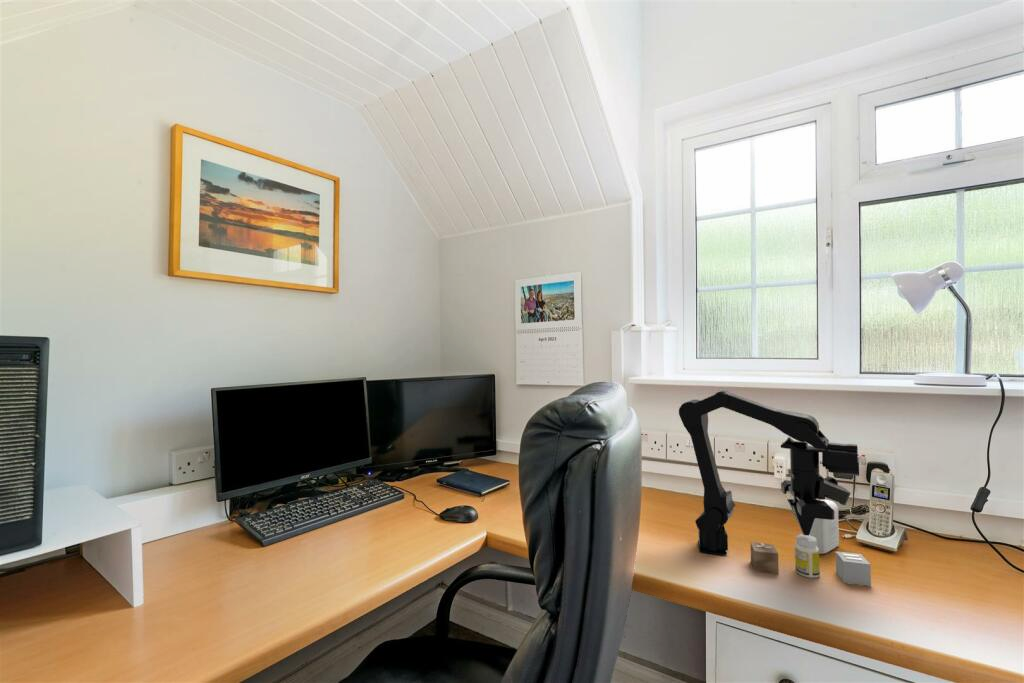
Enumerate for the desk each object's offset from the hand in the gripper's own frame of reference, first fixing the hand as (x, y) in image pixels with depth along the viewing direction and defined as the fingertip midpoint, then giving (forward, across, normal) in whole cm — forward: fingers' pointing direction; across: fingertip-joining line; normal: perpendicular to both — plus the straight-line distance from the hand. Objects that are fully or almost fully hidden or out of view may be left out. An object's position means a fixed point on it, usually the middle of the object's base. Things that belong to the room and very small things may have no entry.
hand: (806, 534), depth 105 cm
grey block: (+9, 0, -9) cm, 13 cm away
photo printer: (+9, +16, -8) cm, 20 cm away
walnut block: (+9, 0, +9) cm, 13 cm away
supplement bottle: (+9, 0, 0) cm, 9 cm away
